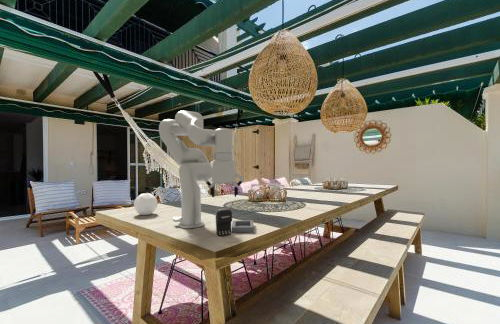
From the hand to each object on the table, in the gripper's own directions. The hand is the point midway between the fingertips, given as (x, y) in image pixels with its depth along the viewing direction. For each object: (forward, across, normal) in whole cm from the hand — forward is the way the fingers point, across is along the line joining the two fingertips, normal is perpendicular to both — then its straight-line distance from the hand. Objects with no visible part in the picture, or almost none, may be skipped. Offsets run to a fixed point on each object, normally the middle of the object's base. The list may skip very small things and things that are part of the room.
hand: (224, 196), depth 113 cm
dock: (+17, +8, +10) cm, 21 cm away
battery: (+17, 0, 0) cm, 17 cm away
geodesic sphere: (+17, -51, +45) cm, 70 cm away
